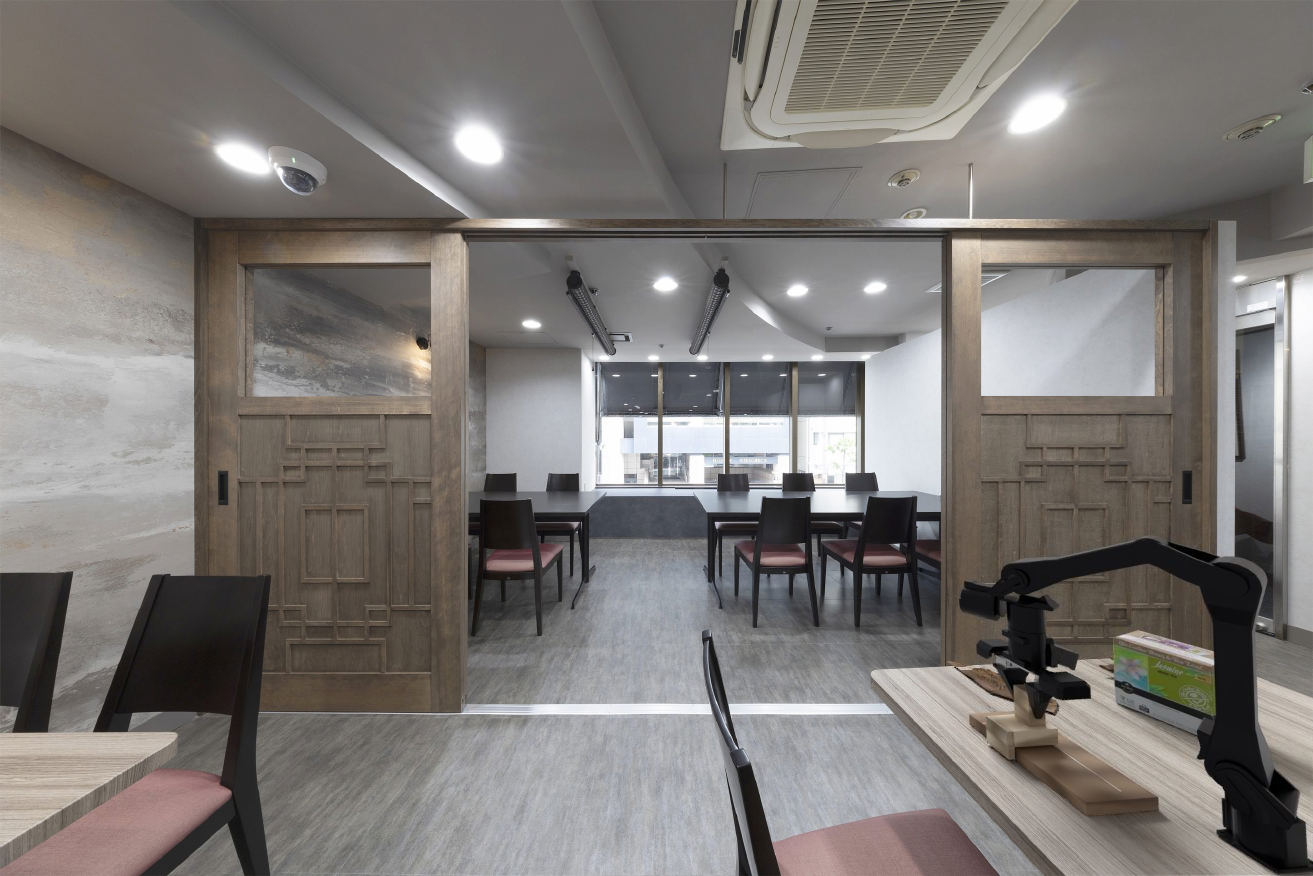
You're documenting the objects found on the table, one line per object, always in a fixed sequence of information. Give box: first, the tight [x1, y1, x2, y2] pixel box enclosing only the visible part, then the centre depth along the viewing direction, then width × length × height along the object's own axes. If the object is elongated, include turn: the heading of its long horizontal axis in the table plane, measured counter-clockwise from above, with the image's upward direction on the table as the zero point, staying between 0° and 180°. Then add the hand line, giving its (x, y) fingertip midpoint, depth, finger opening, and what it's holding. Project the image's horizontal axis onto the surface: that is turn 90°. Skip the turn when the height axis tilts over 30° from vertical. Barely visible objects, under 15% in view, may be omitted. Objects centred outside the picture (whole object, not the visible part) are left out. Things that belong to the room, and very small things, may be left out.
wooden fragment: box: [946, 660, 1059, 716], centre depth 110 cm, size 26×11×1 cm, turn 13°
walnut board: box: [968, 710, 1160, 817], centre depth 83 cm, size 24×12×2 cm, turn 4°
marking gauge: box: [986, 684, 1059, 761], centre depth 86 cm, size 5×10×11 cm, turn 94°
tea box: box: [1112, 629, 1216, 736], centre depth 96 cm, size 15×10×15 cm, turn 21°
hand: (1029, 713), depth 86 cm, fingers closed on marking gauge, 3 cm apart
